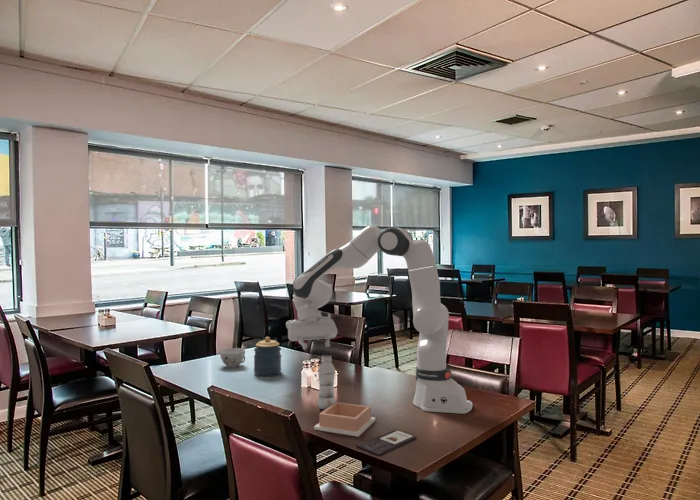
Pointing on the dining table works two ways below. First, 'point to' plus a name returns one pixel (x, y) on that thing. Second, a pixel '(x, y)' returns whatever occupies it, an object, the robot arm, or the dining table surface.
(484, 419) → the dining table surface
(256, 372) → the canister
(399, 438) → the chocolate bar
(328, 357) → the plastic bottle
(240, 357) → the teacup
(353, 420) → the open square box
